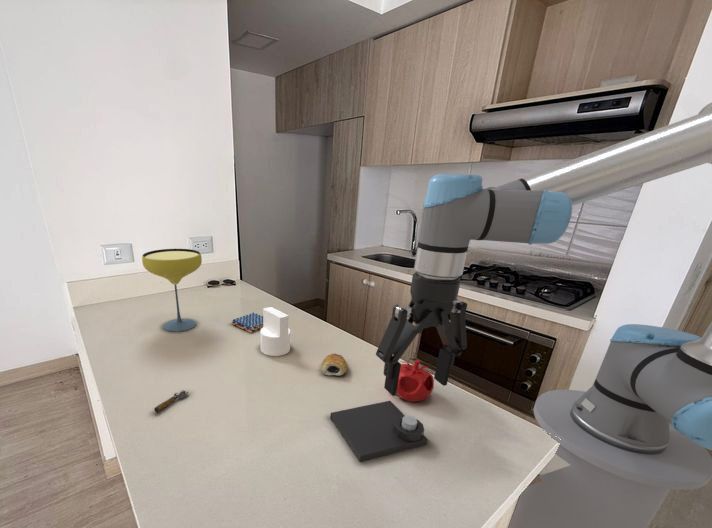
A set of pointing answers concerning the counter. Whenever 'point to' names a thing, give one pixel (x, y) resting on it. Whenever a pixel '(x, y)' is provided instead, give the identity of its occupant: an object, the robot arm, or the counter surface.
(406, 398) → the pomegranate
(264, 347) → the base with upright slab
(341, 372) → the pastry
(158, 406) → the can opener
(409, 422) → the button
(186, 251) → the cocktail glass
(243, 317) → the woven mat
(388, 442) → the scale
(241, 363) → the counter surface
